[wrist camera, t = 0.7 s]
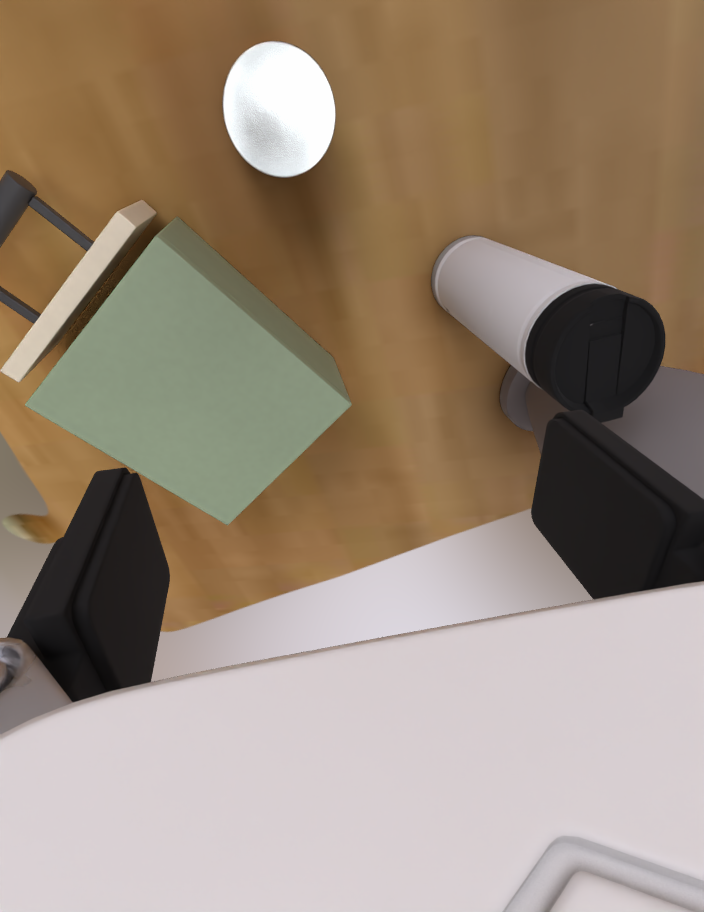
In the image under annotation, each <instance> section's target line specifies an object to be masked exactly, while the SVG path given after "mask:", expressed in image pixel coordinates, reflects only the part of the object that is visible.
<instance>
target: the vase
mask: <svg viewBox="0 0 704 912" xmlns="http://www.w3.org/2000/svg"><path fill="white" fill-rule="evenodd" d="M500 404H501V408H502V410H503V412H504V414H505V415H506V416H507V417H508V418H509V419H510V420H511V421H512V422H513V423H514V424H515V425H516V426H518V427H520V428H522V429H524V430H528V431H534V434H535V438H536V441H537V444H538V447H539V450H540V453H541V454H542V448H543V443H544V437H545V432H546V426H547V423H548V422H549V420H551V419H553V417H554V416H555V414H557V413H559V412H567V411H569V410H567V409H566V408H564V407H563V406H562V405H561V404H560V403H558V402H557V401H556V400H555V399H553V398H552V397H551V396H550V395H549V394H547V393H546V392H545V391H544V390H542V389H541V388H539V387H537V386H536V385H535V384H534V383H533V382H531V381H530V380H529V379H528V378H526V377H525V376H524V375H523V374H522V373H520V372H519V371H518V370H517V369H516V368H514V367H513V366H512V365H511V366H510V368H509V370H508V371H507V373H506V375H505V377H504V380H503V383H502V386H501V391H500ZM602 424H603V425H605V426H606V427H607V428H609V429H610V430H611V431H613V432H614V433H615V434H617V435H618V436H619V437H621V438H622V439H623V440H625V441H626V442H627V443H629V444H630V445H631V446H633V447H634V448H635V449H637V450H638V451H639V452H641V453H642V454H643V455H645V456H646V457H648V458H649V459H650V460H652V461H653V462H654V463H656V464H657V465H658V466H660V467H661V468H662V469H664V470H665V471H666V472H668V473H669V474H670V475H672V476H673V477H674V478H676V479H677V480H678V481H680V482H681V483H682V484H684V485H685V486H687V487H688V488H689V489H691V490H692V491H693V492H695V493H696V494H697V495H699V496H700V497H701V498H703V499H704V374H700V373H695V372H691V371H687V370H681V369H675V368H669V367H664V366H660V367H659V370H658V372H657V373H656V375H655V377H654V379H653V381H652V382H651V383H650V385H649V386H648V387H647V389H646V390H645V391H644V392H643V393H642V394H641V395H640V396H639V397H638V398H637V399H636V400H635V401H633V402H632V403H630V404H629V405H628V406H626V407H624V411H623V417H622V418H618V419H615V420H611V421H607V422H603V423H602Z"/></svg>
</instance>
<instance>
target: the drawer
mask: <svg viewBox="0 0 704 912" xmlns="http://www.w3.org/2000/svg"><path fill="white" fill-rule="evenodd" d="M36 194H37V190H36V189H35V187H34V186H33V185H32V184H31V183H30V182H28V181H27V180H26V179H24V178H23V177H22V176H20V175H18V174H17V173H15V172H13V171H10V170H7V171H6V173H5V174H4V176H3V177H2V179H1V180H0V247H1V246H2V244H3V243H4V242H5V240H6V239H7V237H8V236H9V234H10V233H11V231H12V230H13V228H14V227H15V225H16V224H17V222H18V221H19V219H20V218H21V216H22V215H23V213H24V212H25V210H26V209H27V207H28V206H30V207H31V208H33V209H34V210H35V211H37V212H38V213H39V214H40V215H42V216H43V217H44V218H45V219H47V220H48V221H49V222H51V223H52V224H53V225H54V226H56V227H57V228H58V229H59V230H61V231H62V232H63V233H65V234H66V235H67V236H68V237H70V238H71V239H72V240H73V241H75V242H76V243H77V244H79V245H80V246H81V247H82V248H84V249H85V250H86V251H87V253H86V254H85V255H84V257H83V258H82V260H81V261H80V262H79V264H78V265H77V266H76V268H75V269H74V270H73V272H72V273H71V275H70V276H69V277H68V279H67V280H66V281H65V283H64V284H63V285H62V287H61V288H60V290H59V291H58V292H57V294H56V295H55V296H54V298H53V299H52V300H51V302H50V303H49V305H48V306H47V307H46V309H45V310H44V311H43V313H42V314H40V313H38V312H37V311H36V310H34V309H33V308H31V307H30V306H28V305H27V304H25V303H24V302H22V301H21V300H20V299H18V298H17V297H15V296H14V295H12V294H11V293H9V292H8V291H7V290H5V289H4V288H2V287H1V286H0V301H1V302H3V303H4V304H6V305H7V306H8V307H10V308H11V309H13V310H14V311H16V312H17V313H19V314H20V315H22V316H23V317H25V318H26V319H28V320H29V321H31V322H32V323H34V325H33V326H32V328H31V329H30V330H29V332H28V333H27V334H26V336H25V337H24V339H23V340H22V341H21V343H20V344H19V345H18V347H17V348H16V349H15V351H14V352H13V354H12V355H11V356H10V358H9V359H8V360H7V362H6V363H5V364H4V366H3V367H2V369H1V370H0V371H1V372H2V373H4V374H6V375H7V376H9V377H10V378H12V379H14V380H15V381H17V382H20V381H21V380H22V379H23V378H24V377H25V376H26V375H27V374H28V373H29V372H30V371H31V370H32V369H33V368H34V367H35V366H36V365H37V364H38V363H39V362H40V361H41V360H42V359H43V358H44V357H45V356H46V355H47V354H48V353H49V352H50V351H51V350H52V349H53V348H54V347H55V346H56V345H57V344H58V343H59V342H60V340H61V339H62V338H63V336H64V335H65V334H66V332H67V331H68V330H69V328H70V327H71V326H72V324H73V323H74V322H75V321H76V319H77V318H78V317H79V315H80V314H81V313H82V311H83V310H84V309H85V307H86V306H87V305H88V303H89V302H90V301H91V300H92V298H93V297H94V296H95V294H96V293H97V292H98V290H99V289H100V288H101V286H102V285H103V284H104V283H105V281H106V280H107V279H108V277H109V276H110V275H111V273H112V272H113V271H114V269H115V268H116V267H117V265H118V264H119V263H120V262H121V260H122V259H123V258H124V256H125V255H126V254H127V252H128V251H129V250H130V248H131V247H132V246H133V244H134V243H135V242H136V241H137V239H138V238H139V237H140V235H141V234H142V233H143V231H144V230H145V229H146V227H147V226H148V225H149V224H150V222H151V221H152V220H153V218H154V217H155V216H156V214H157V212H156V211H154V210H153V209H152V208H151V207H150V206H149V205H148V204H147V203H145V202H144V201H143V200H140V201H138V202H136V203H134V204H132V205H130V206H128V207H126V208H123V209H121V210H119V211H117V212H116V213H115V215H114V216H113V217H112V219H111V220H110V221H109V223H108V224H107V226H106V227H105V228H104V230H103V231H102V232H101V234H100V235H99V236H98V238H97V239H96V241H95V242H94V241H92V240H91V239H90V238H89V237H87V236H86V235H85V234H84V233H82V232H81V231H80V230H79V229H77V228H76V227H75V226H74V225H72V224H71V223H70V222H69V221H67V220H66V219H65V218H64V217H62V216H61V215H60V214H59V213H57V212H56V211H55V210H54V209H52V208H51V207H50V206H49V205H47V204H46V203H45V202H44V201H42V200H41V199H40V198H39V197H37V196H35V195H36Z"/></svg>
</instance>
